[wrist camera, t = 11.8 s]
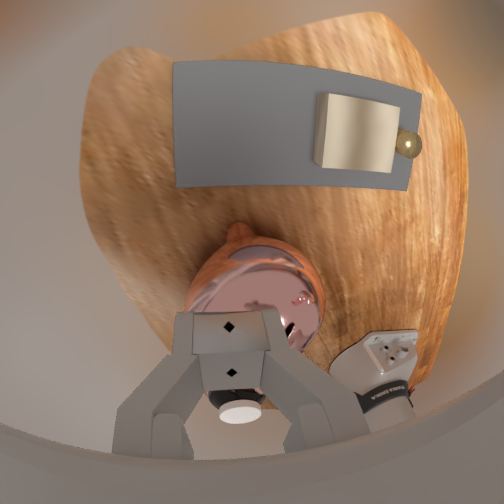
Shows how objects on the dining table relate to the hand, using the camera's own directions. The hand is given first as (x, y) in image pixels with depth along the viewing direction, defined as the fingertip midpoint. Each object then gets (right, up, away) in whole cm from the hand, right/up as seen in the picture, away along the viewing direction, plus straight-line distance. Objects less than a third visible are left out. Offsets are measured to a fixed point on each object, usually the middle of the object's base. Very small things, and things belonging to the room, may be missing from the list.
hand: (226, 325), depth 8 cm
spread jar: (-1, -17, +41) cm, 44 cm away
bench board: (+7, +17, +21) cm, 28 cm away
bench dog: (+18, +16, +22) cm, 33 cm away
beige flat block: (+12, +16, +21) cm, 29 cm away
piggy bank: (0, 0, +31) cm, 31 cm away
